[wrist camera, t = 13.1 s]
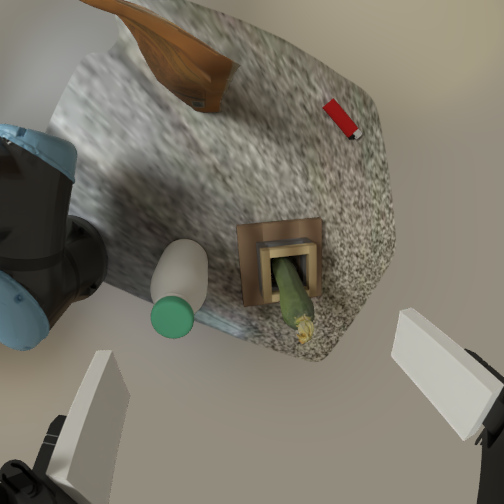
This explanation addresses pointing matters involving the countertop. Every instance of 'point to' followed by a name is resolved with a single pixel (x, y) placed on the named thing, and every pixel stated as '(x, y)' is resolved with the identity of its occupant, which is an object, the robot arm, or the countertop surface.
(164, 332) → the milk bottle
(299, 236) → the collar stand
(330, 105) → the lighter
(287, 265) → the vegetable
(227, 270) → the countertop surface
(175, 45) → the pancake mix bag
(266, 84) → the countertop surface
